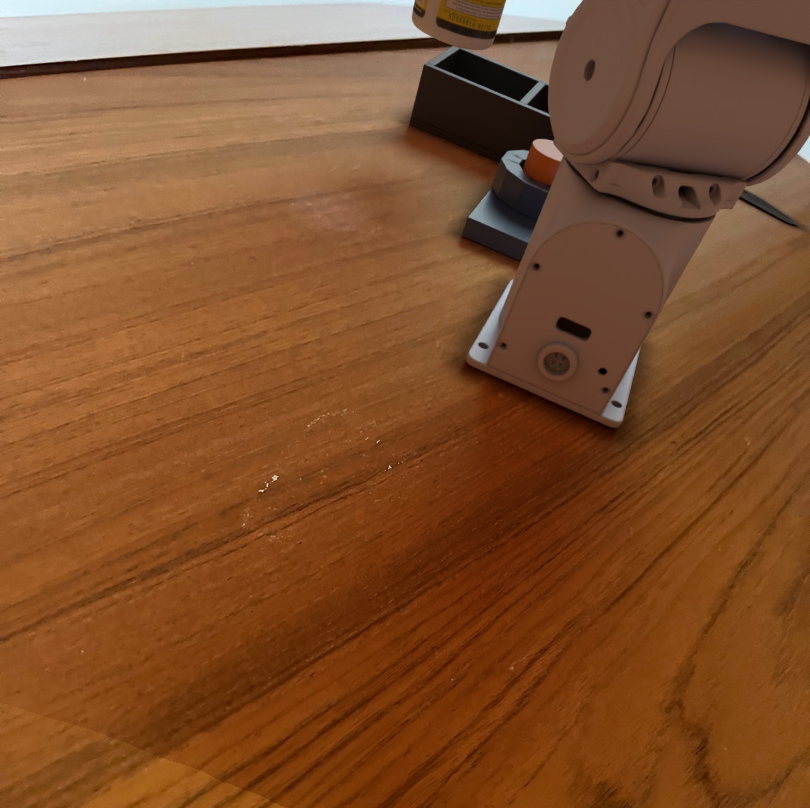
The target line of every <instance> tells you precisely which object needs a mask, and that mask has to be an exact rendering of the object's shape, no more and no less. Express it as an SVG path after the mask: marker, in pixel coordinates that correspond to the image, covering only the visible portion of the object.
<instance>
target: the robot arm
mask: <svg viewBox="0 0 810 808" xmlns="http://www.w3.org/2000/svg"><path fill="white" fill-rule="evenodd" d="M571 15H572V16H571ZM571 15H570V16H571V17H570V16H569V17H570V19H569V21H568V23H567V25H566V24H565V26H564V29H563V30H562V32H561V35H560V38H559V40H558V43H557V46H556V49H555V52H554V56H553V58H552V63H551V68H550V73H549V80H548V83H549V88H548V109H549V116H550V121H551V126H552V131H553V135H554V140H553V143H554V146H555V147H556V148H557V149H558V150H559V151H560V152H561V153H562V154H563V158H562V160H561V163H560V165H559V168H558V170H557V173H556V175H555V178H554V180H553V183H552V185H551V188H550V190H549V193H548V195H547V198H546V200H545V203H544V205H543V208H542V210H541V213H540V215H539V218H538V220H537V223H536V225H535V228H534V230H533V233H532V235H531V238H530V240H529V243H528V245H527V248H526V250H525V253H524V255H523V258H522V260H521V261H520V262H519V265H518V268H517V270H516V273H515V276H514V278H512V279H510V280H509V281H508V283H507V285H506V286H505V289H504V291H503V292H502V293H501V295H500V297H499V299H498V301H497V302H496V304H495V305H494V307H493V309H492V310H491V313H490V314H489V315H488V318H487V320H486V321H485V323H484V324H483V326H482V328H481V329H480V331H479V333H478V335H477V336H476V338H475V340H474V341H473V343H472V345H471V346H470V348H469V350H467V351H468V352H467V354H466V357H465V361H466V363H467V364H468V365H469V366H470V367H472V368H475V369H477V370H479V371H481V372H484V373H486V374H488V375H491V376H493V377H495V378H497V379H499V380H501V381H504V382H507V383H509V384H511V385H513V386H515V387H518V388H520V389H523V390H524V391H527V392H529V393H531V394H534V395H536V396H537V397H541V398H543V399H545V400H547V401H548V402H552V403H554V404H557V405H558V406H561V407H563V408H565V409H568V410H570V411H572V412H574V413H577V414H578V415H581V416H584V417H586V418H588V419H591V420H593V421H594V422H597V423H599V424H601V425H604V426H606V427H608V428H612V429H617V428H620V425H622V423H623V421H624V419H625V413H626V409H627V406H628V402H629V398H630V395H631V390H632V386H633V381H634V377H635V373H636V370H637V365H638V361H639V357H640V352H641V348H642V346H643V344H644V343H645V340H646V339H647V337H648V335H649V334H650V332H651V330H652V329H653V327H654V325H655V323H656V321H657V320H658V318H659V316H660V315H661V312H662V311H663V308H664V306H665V305H666V303H667V301H668V299H669V298H670V296H671V294H672V293H673V291H674V289H675V287H676V285H677V284H678V282H679V280H680V279H681V277H682V275H683V273H684V271H685V270H686V268H687V267H688V265H689V263H690V261H691V259H692V258H693V256H694V254H695V253H696V251H697V249H698V248H699V247H700V246H699V245H700V244H701V242H702V241H703V239H704V237H705V235H706V233H707V232H708V230H709V228H710V227H711V225H712V223H713V221H714V220H715V218H716V216H717V213H718V212H719V211H720V210H733V209H734V207H735V206H736V205H737V202H738V201H739V199H740V198H741V197H740V196H741V194H742V192H743V190H746V187H751V186H755V185H759V184H762V183H764V182H765V181H768V180H769V179H771V178H773V177H774V176H776V175H777V174H779V173H780V172H781V171H782V170H783V169H784V168H786V166H788V165H789V164H790V163H791V162H792V160H793V159H794V158H796V156H797V155H798V154H799V153H800V151H801V150H802V149H803V147H804V146H805V144H806V143H807V141H808V140H809V138H810V0H581V2H580V3H579V4H578V5H577V6H576V9H575V10H574V11H573V13H572V14H571Z"/></svg>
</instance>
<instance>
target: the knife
mask: <svg viewBox="0 0 810 808" xmlns="http://www.w3.org/2000/svg"><path fill="white" fill-rule="evenodd" d="M739 198H742V199H743V200H746V201H747V202H749V203H750V204H753V205H755V206H757V207H759V208H760V209H762V210H763V211H765V212H767V213H769V214H771V215H773V216H775V217H776V218H779V219H780V220H782V221H784V222H786V223H789V224H791V225H795V226H798V227H801V225H800V224H799V223H797V222H796V221H795V220H794V219H792V218H791V217H790V216H788V215H786V213H784V212H782V211H780V210H779V209H777V207H775V206H773V205H772V204H771V203H768V202H767V201H766V200H764V199H763V198H761V197H759V196H758V195H756V194H754V193H752V192H750V191H748V190H746V189H744V190H743V192H742V194H741V196H740V197H739Z"/></svg>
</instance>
